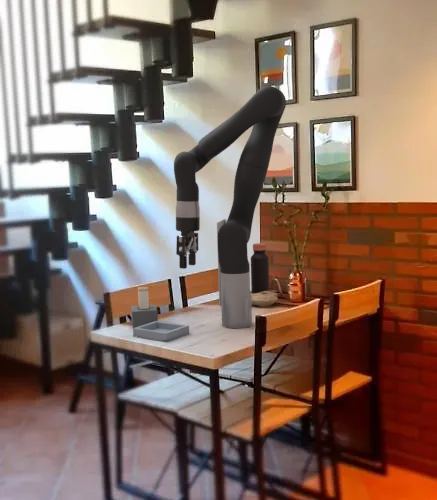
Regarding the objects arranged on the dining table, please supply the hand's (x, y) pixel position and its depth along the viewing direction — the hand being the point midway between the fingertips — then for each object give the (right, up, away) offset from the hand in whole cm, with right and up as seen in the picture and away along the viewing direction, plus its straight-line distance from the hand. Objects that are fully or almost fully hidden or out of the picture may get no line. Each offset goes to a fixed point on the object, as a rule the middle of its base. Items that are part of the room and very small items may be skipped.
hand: (187, 266), depth 220 cm
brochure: (+14, -14, +37) cm, 42 cm away
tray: (-8, -21, -9) cm, 24 cm away
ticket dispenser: (-14, -19, +5) cm, 24 cm away
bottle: (+26, -13, +45) cm, 53 cm away
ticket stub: (-14, -16, +4) cm, 22 cm away
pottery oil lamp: (+25, -15, +28) cm, 40 cm away
